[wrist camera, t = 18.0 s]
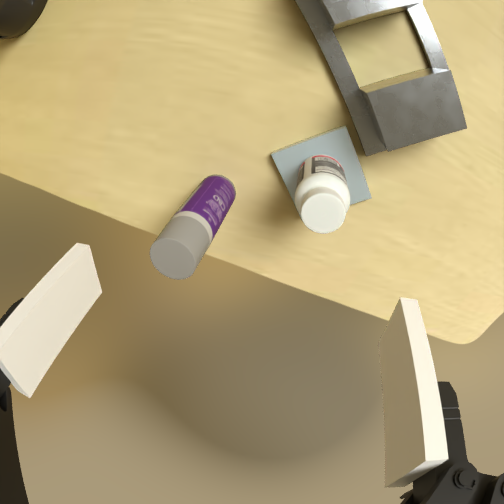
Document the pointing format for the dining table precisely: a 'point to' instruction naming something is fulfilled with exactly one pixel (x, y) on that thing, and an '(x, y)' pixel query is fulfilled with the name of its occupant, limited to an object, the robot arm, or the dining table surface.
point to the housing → (393, 89)
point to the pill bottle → (322, 193)
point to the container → (192, 228)
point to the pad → (328, 144)
